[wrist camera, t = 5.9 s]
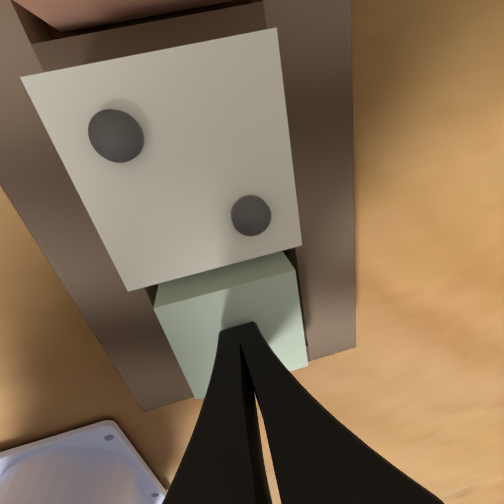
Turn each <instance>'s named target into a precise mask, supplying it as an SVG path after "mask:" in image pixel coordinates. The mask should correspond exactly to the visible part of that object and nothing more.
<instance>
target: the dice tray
mask: <svg viewBox="0 0 504 504" xmlns="http://www.w3.org/2000/svg"><path fill="white" fill-rule="evenodd" d="M276 27H277V34H278V43H279V52H280V60H281V69H282V77H283V86H284V94H285V103H286V111H287V120H288V128H289V137H290V145H291V154H292V163H293V171H294V180H295V188H296V197H297V205H298V214H299V222H300V231H301V239H302V246H298V247H294V248H290V249H287V250H286V252H287V259H288V260H289V261H290V263H291V264H292V266H293V267H294V269H295V272H296V279H297V287H298V294H299V301H300V308H301V316H302V323H303V330H304V338H305V345H306V352H307V359H308V362H309V361H312V360H315V359H318V358H322V357H325V356H328V355H332V354H335V353H338V352H341V351H345V350H348V349H351V348H355V347H356V308H355V239H354V170H353V101H352V32H351V0H249V4H246V5H240V6H235V7H229V8H224V9H219V10H213V11H208V12H202V13H197V14H191V15H186V16H181V17H175V18H170V19H164V20H159V21H153V22H148V23H143V24H137V25H132V26H126V27H121V28H115V29H110V30H105V31H99V32H94V33H88V34H83V35H78V36H72V37H67V38H61V39H56V40H52V39H51V37H50V35H49V32H48V30H47V28H46V25H45V23H44V21H43V20H42V19H40V18H39V17H37V16H36V15H34V14H33V13H31V12H30V11H28V10H27V9H25V8H24V7H22V6H21V5H19V4H18V3H17V2H15V1H14V0H0V186H1V187H2V189H3V190H4V192H5V193H6V195H7V197H8V198H9V200H10V201H11V203H12V205H13V206H14V208H15V209H16V211H17V212H18V214H19V216H20V217H21V219H22V220H23V222H24V223H25V225H26V227H27V228H28V230H29V231H30V233H31V235H32V236H33V238H34V239H35V241H36V242H37V244H38V246H39V247H40V249H41V250H42V252H43V253H44V255H45V257H46V258H47V260H48V261H49V263H50V265H51V266H52V268H53V269H54V271H55V272H56V274H57V276H58V277H59V279H60V280H61V282H62V284H63V285H64V287H65V288H66V290H67V291H68V293H69V295H70V296H71V298H72V299H73V301H74V302H75V304H76V306H77V307H78V309H79V310H80V312H81V314H82V315H83V317H84V318H85V320H86V321H87V323H88V325H89V326H90V328H91V329H92V331H93V332H94V334H95V336H96V337H97V339H98V340H99V342H100V344H101V345H102V347H103V348H104V350H105V351H106V353H107V355H108V356H109V358H110V359H111V361H112V362H113V364H114V366H115V367H116V369H117V370H118V372H119V374H120V375H121V377H122V378H123V380H124V381H125V383H126V385H127V386H128V388H129V389H130V391H131V392H132V394H133V396H134V397H135V399H136V400H137V402H138V404H139V405H140V407H141V408H142V410H143V411H147V410H151V409H154V408H157V407H161V406H164V405H167V404H171V403H174V402H177V401H180V400H184V399H187V398H190V397H194V395H193V393H192V391H191V388H190V386H189V384H188V382H187V380H186V378H185V376H184V373H183V371H182V369H181V367H180V365H179V363H178V361H177V358H176V356H175V354H174V352H173V350H172V348H171V346H170V343H169V341H168V339H167V337H166V335H165V333H164V331H163V328H162V326H161V324H160V322H159V320H158V318H157V316H156V313H155V311H154V309H153V308H154V303H155V299H156V294H157V290H158V284H155V285H151V286H147V287H144V288H140V289H136V290H132V291H129V292H128V291H127V289H126V287H125V285H124V283H123V281H122V279H121V277H120V275H119V273H118V271H117V269H116V267H115V265H114V263H113V261H112V259H111V257H110V255H109V253H108V251H107V249H106V247H105V245H104V243H103V241H102V239H101V237H100V235H99V233H98V231H97V229H96V227H95V225H94V223H93V221H92V219H91V217H90V215H89V213H88V211H87V209H86V207H85V206H84V204H83V202H82V200H81V198H80V196H79V194H78V192H77V190H76V188H75V186H74V184H73V182H72V180H71V178H70V176H69V174H68V172H67V170H66V168H65V166H64V164H63V162H62V160H61V158H60V156H59V154H58V152H57V150H56V148H55V146H54V144H53V142H52V140H51V138H50V136H49V134H48V132H47V130H46V128H45V126H44V124H43V122H42V120H41V118H40V116H39V114H38V112H37V110H36V108H35V106H34V104H33V102H32V100H31V98H30V96H29V94H28V92H27V90H26V88H25V86H24V84H23V82H22V80H21V78H20V77H23V76H28V75H34V74H39V73H44V72H49V71H54V70H59V69H65V68H70V67H75V66H80V65H85V64H90V63H96V62H101V61H106V60H111V59H116V58H121V57H127V56H132V55H137V54H142V53H147V52H152V51H158V50H163V49H168V48H173V47H178V46H183V45H189V44H194V43H199V42H204V41H209V40H214V39H220V38H225V37H230V36H235V35H240V34H245V33H251V32H256V31H261V30H266V29H271V28H276Z"/></svg>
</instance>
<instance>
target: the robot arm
mask: <svg viewBox="0 0 504 504" xmlns="http://www.w3.org/2000/svg"><path fill="white" fill-rule="evenodd" d="M254 392H255V394H254ZM255 395H256V398H257V401H258V404H259V407H260V410H261V414H262V417H263V420H264V425H265V429H266V434H267V439H268V443H269V448H270V452H271V457H272V462H273V466H274V471H275V476H276V480H277V485H278V490H279V494H280V499H281V504H444V503H443V502H442V501H441V500H440V499H439V498H438V497H437V496H435V495H434V494H432V493H431V492H430V491H428V490H427V489H425V488H424V487H422V486H421V485H420V484H418V483H417V482H415V481H414V480H413V479H411V478H410V477H408V476H407V475H406V474H404V473H403V472H402V471H400V470H399V469H398V468H396V467H395V466H393V465H392V464H391V463H390V462H388V461H387V460H386V459H384V458H383V457H382V456H381V455H379V454H378V453H377V452H375V451H374V450H373V449H371V448H370V447H369V446H368V445H367V444H365V443H364V442H363V441H362V440H361V439H359V438H358V437H357V436H356V435H355V434H353V433H352V432H351V431H350V430H349V429H347V428H346V427H345V426H344V425H343V424H342V423H340V422H339V421H338V420H337V419H336V418H335V417H334V416H333V415H331V414H330V413H329V412H328V411H327V410H326V409H325V408H324V407H323V406H322V405H321V404H320V403H319V402H318V401H317V400H316V399H315V398H314V397H313V396H312V395H311V394H310V393H309V392H308V391H307V390H306V389H305V388H304V387H303V386H302V385H301V384H300V383H299V382H298V381H297V380H296V378H295V377H294V376H293V375H292V374H291V373H290V372H289V370H288V369H287V368H286V367H285V366H284V365H283V363H282V362H281V361H280V359H279V358H278V357H277V356H276V354H275V353H274V352H273V350H272V349H271V348H270V346H269V345H268V343H267V342H266V340H265V339H264V337H263V336H262V334H261V332H260V330H259V328H258V326H257V324H256V323H255V322H253V321H252V322H249V323H245V324H242V325H238V326H235V327H231V328H228V329H224V330H221V331H220V332H219V336H218V345H217V351H216V356H215V361H214V366H213V370H212V374H211V378H210V382H209V385H208V389H207V392H206V395H205V398H204V402H203V405H202V408H201V411H200V414H199V417H198V420H197V423H196V426H195V428H194V431H193V434H192V436H191V439H190V441H189V444H188V446H187V449H186V451H185V454H184V456H183V458H182V460H181V463H180V465H179V467H178V470H177V472H176V474H175V477H174V479H173V481H172V483H171V485H170V488H169V490H168V492H166V490H165V489H164V487H163V486H162V485H161V483H160V482H159V481H158V479H157V478H156V477H155V475H154V474H153V473H152V471H151V470H150V469H149V467H148V466H147V464H146V463H145V462H144V460H143V459H142V458H141V456H140V455H139V454H138V452H137V451H136V450H135V448H134V447H133V445H132V444H131V443H130V441H129V440H128V439H127V437H126V436H125V435H124V433H123V432H122V431H121V429H120V428H119V427H118V425H117V424H116V423H115V422H114V421H111V420H105V421H101V422H98V423H95V424H91V425H88V426H85V427H81V428H78V429H75V430H71V431H68V432H65V433H62V434H58V435H55V436H52V437H48V438H45V439H42V440H38V441H35V442H32V443H29V444H25V445H22V446H19V447H15V448H12V449H9V450H5V451H2V452H0V504H272V500H271V495H270V490H269V486H268V481H267V476H266V471H265V465H264V459H263V452H262V445H261V438H260V430H259V423H258V416H257V408H256V401H255Z"/></svg>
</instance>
